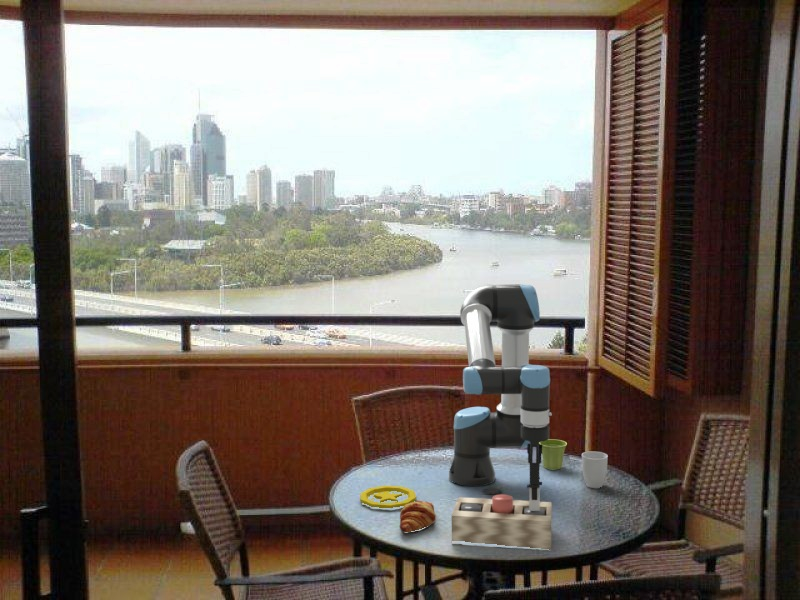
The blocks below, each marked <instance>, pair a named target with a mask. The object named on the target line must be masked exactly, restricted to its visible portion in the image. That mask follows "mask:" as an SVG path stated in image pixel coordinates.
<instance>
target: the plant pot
mask: <svg viewBox="0 0 800 600" xmlns="http://www.w3.org/2000/svg"><path fill="white" fill-rule="evenodd" d="M539 444H542V454H541V458H542V465H543V468H544V469H547V470H550V471H551V470H553V471H557V470H560V469H562V468H563V461H564V455H565V450H566V448H567V445H568V443H567V442H566V441H564V440H561V439H551V438H549V439H548V440H546V441H541V442H539Z"/></svg>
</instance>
